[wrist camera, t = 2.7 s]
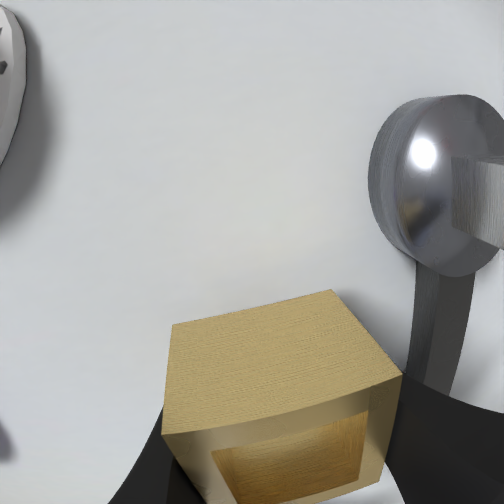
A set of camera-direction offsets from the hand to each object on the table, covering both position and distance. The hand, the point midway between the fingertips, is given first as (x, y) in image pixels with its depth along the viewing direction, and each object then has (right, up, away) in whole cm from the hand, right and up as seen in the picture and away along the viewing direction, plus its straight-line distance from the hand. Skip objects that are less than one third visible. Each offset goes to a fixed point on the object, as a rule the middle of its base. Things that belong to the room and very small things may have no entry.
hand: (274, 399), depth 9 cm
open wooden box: (0, 0, +1) cm, 2 cm away
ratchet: (+8, +3, +5) cm, 10 cm away
